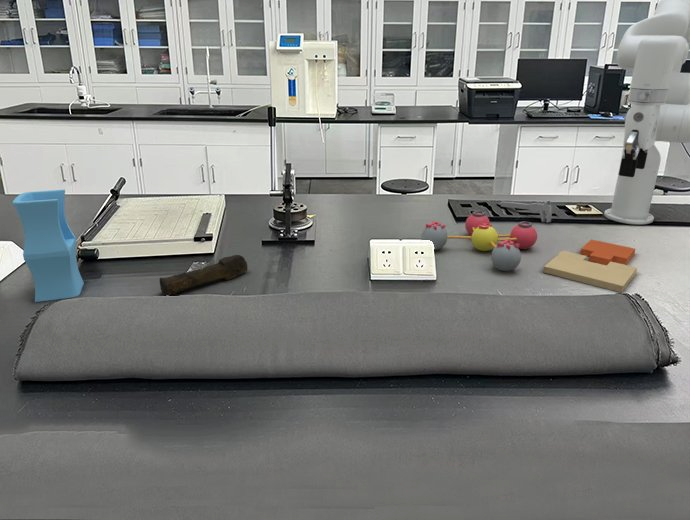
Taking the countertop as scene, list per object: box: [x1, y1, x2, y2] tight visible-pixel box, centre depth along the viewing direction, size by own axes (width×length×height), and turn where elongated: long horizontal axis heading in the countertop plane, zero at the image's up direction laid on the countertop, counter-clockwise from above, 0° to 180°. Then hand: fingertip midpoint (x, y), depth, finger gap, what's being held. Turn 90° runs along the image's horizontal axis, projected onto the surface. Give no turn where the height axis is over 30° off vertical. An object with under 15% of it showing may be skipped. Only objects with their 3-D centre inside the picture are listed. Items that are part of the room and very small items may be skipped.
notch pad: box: [543, 250, 638, 293], centre depth 116 cm, size 12×16×2 cm
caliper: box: [497, 200, 553, 223], centre depth 154 cm, size 20×1×6 cm, turn 27°
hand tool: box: [159, 254, 248, 296], centre depth 110 cm, size 19×4×5 cm, turn 127°
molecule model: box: [420, 210, 538, 272], centre depth 127 cm, size 25×21×6 cm
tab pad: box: [579, 239, 636, 266], centre depth 125 cm, size 11×10×2 cm
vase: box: [12, 189, 84, 303], centre depth 104 cm, size 8×8×20 cm
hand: (631, 172), depth 125 cm, fingers open, 9 cm apart
